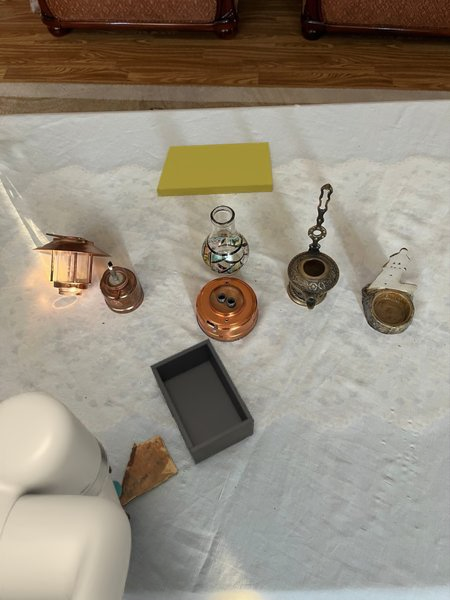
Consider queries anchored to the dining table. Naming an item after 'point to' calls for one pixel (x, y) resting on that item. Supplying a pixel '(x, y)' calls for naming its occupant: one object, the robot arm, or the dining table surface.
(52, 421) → the robot arm
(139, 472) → the shard
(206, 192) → the flat olive board
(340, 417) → the dining table surface
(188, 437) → the bin
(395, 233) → the dining table surface
